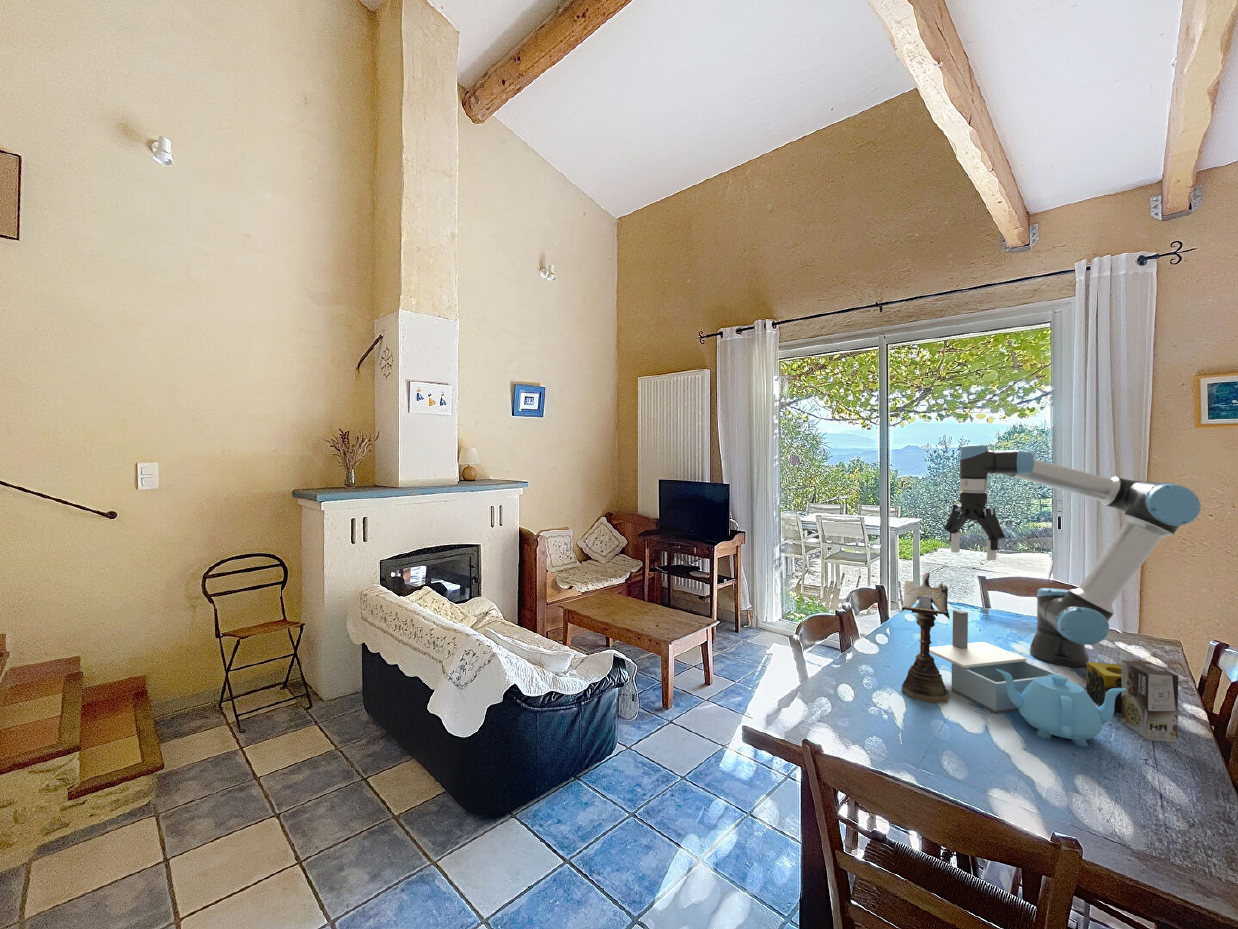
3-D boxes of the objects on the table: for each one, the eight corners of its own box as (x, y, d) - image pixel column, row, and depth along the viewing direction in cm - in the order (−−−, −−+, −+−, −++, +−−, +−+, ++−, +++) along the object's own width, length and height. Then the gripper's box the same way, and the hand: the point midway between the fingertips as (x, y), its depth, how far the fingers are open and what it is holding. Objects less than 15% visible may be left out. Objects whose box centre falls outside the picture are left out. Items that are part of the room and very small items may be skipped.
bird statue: (953, 716, 139) (954, 583, 138) (897, 702, 146) (898, 576, 145) (956, 692, 152) (958, 571, 151) (905, 681, 160) (906, 565, 159)
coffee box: (1179, 743, 125) (1180, 676, 125) (1147, 740, 127) (1148, 673, 126) (1149, 724, 134) (1150, 661, 134) (1119, 721, 136) (1120, 659, 135)
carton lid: (983, 644, 168) (983, 607, 168) (1026, 661, 154) (1026, 620, 154) (924, 650, 163) (925, 612, 163) (963, 668, 149) (964, 626, 149)
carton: (1012, 683, 158) (1013, 656, 158) (1061, 704, 145) (1061, 675, 144) (951, 690, 153) (951, 663, 153) (995, 714, 140) (996, 683, 140)
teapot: (1126, 747, 124) (1127, 687, 124) (1056, 755, 121) (1057, 694, 120) (1057, 713, 140) (1058, 660, 140) (994, 720, 137) (994, 666, 136)
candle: (1130, 700, 147) (1130, 665, 147) (1153, 718, 137) (1153, 679, 137) (1084, 695, 150) (1085, 660, 150) (1104, 712, 141) (1104, 674, 141)
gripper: (933, 489, 186) (932, 549, 186) (999, 494, 161) (998, 564, 162) (951, 489, 187) (950, 548, 188) (1018, 494, 163) (1018, 563, 163)
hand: (972, 556), depth 175 cm, fingers open, 13 cm apart
